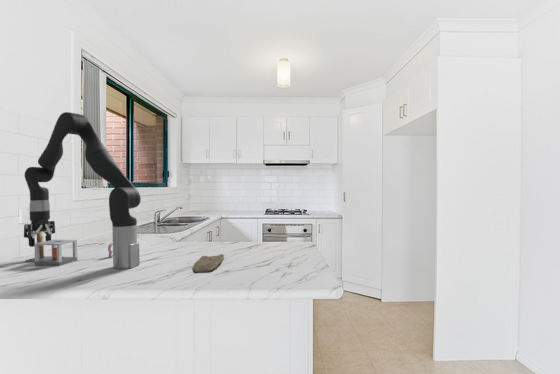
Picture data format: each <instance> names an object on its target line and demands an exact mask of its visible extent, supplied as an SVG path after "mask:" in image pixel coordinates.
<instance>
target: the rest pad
mask: <svg viewBox="0 0 560 374" xmlns="http://www.w3.org/2000/svg"><path fill="white" fill-rule="evenodd" d="M51 257H52V255H51V256H47V255H46V256H45V255H44V258H43V259H47V258H51ZM43 259H40V260H43ZM24 262H25V263H35V257H32V258H29V259H24Z"/></svg>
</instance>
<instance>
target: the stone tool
mask: <svg viewBox="0 0 560 374" xmlns="http://www.w3.org/2000/svg"><path fill="white" fill-rule="evenodd" d="M224 257H225V255H224V254H222V253H220V254H219V255H212V256H208V255H202V256H200V258H199V259H198V260H197V261H195V262H194V264H193V266H192V268H193V271H194V272H195V273H208V272H210V271H212V270H215V269H216V268H217V267H218V266H219V265H220V264H221V263H222V261H223V259H224Z"/></svg>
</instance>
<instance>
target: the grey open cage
mask: <svg viewBox="0 0 560 374" xmlns="http://www.w3.org/2000/svg"><path fill="white" fill-rule="evenodd" d="M67 244H72V256H63V255H62V252H63V250H62V247H63V246H62V245H67ZM39 245H44V246H51V249H52V248H56V247H57V260H53V256H52V255H51V256H52V257H51V258H47V259H43V260H40V252H39ZM34 258H35V262H34V266H57V267H59V266H60V267H61V266H63V265H67V264H69V263H72V262H76V261H78V239H51V240H50V241H46V240H44V242H40V243H37V242H35V244H34Z"/></svg>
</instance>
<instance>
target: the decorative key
mask: <svg viewBox="0 0 560 374" xmlns="http://www.w3.org/2000/svg"><path fill="white" fill-rule="evenodd" d="M112 248H113V242H110V243H109V245H108V246H107V251H108V257H109V258H113V250H112Z"/></svg>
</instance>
